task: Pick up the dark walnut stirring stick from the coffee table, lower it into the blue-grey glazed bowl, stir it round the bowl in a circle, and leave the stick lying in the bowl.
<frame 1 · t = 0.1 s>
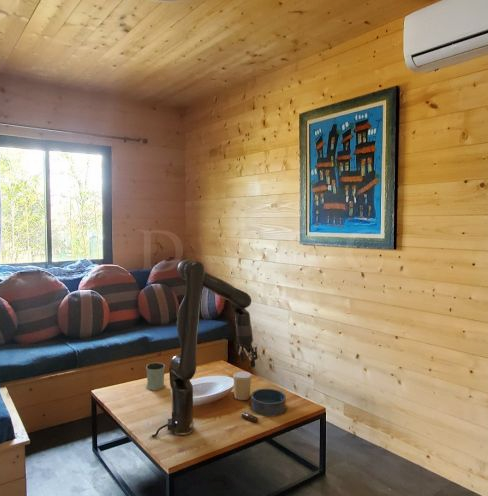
hand: (247, 364, 205), 22 cm above the table, tool pointing down, fingers open, 8 cm apart
coffee cup: (242, 397, 220), on the table
bowl: (268, 407, 208), on the table
green cylindrical pot: (155, 387, 231), on the table
stick: (249, 419, 196), on the table
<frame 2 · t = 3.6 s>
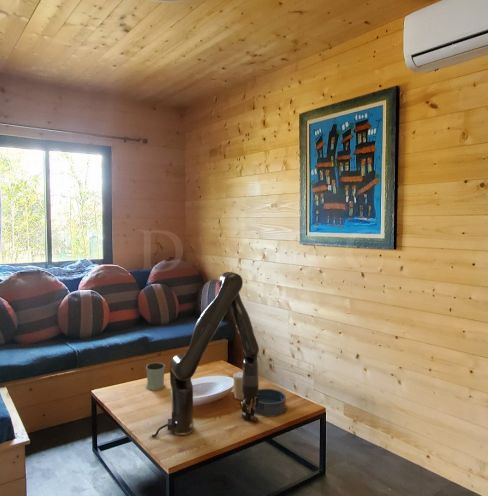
hand: (249, 418, 196), 1 cm above the table, tool pointing down, fingers closed on stick, 2 cm apart
stick: (249, 419, 196), on the table, touching gripper
everything else where it was.
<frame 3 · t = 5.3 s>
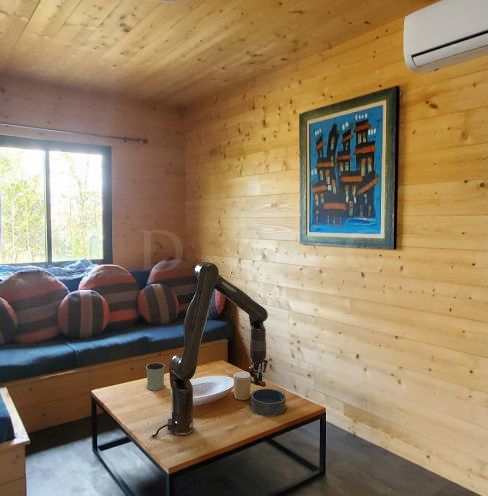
hand: (258, 383, 199), 16 cm above the table, tool pointing down, fingers closed on stick, 2 cm apart
stick: (257, 384, 199), point 15 cm above the table, touching gripper
everything else where it was.
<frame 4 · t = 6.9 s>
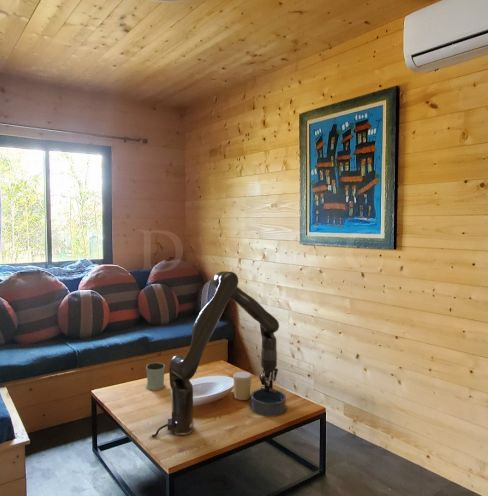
hand: (268, 391, 207), 8 cm above the table, tool pointing down, fingers closed on stick, 2 cm apart
stick: (268, 392, 207), point 8 cm above the table, touching gripper
everything else where it was.
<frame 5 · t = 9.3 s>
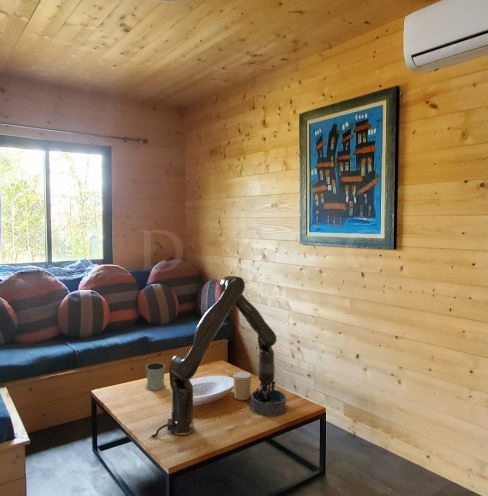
hand: (265, 404, 207), 2 cm above the table, tool pointing down, fingers closed on stick, 2 cm apart
stick: (265, 405, 207), point 1 cm above the table, touching gripper
everything else where it was.
when the fingers open (1 cm above the table, at t = 10.7 s): stick stays where it is, resting on bowl.
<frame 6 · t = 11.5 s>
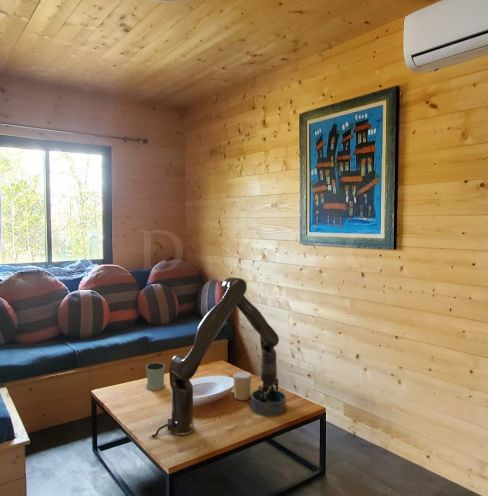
hand: (268, 402, 208), 2 cm above the table, tool pointing down, fingers open, 8 cm apart
stick: (268, 405, 208), point 1 cm above the table, tilted 24°, touching bowl
everything else where it was.
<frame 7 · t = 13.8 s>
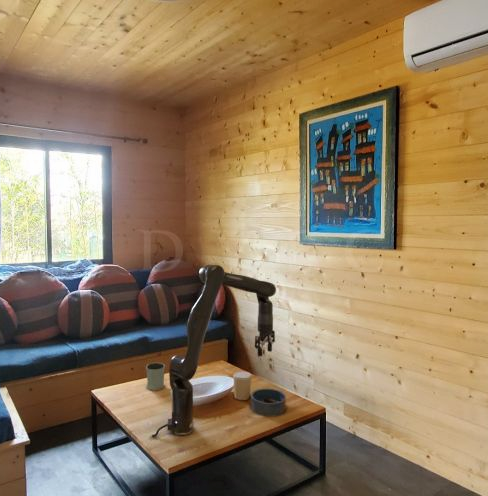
hand: (264, 353, 211), 25 cm above the table, tool pointing down, fingers open, 8 cm apart
stick: (271, 399, 210), point 3 cm above the table, tilted 153°, touching bowl
everything else where it was.
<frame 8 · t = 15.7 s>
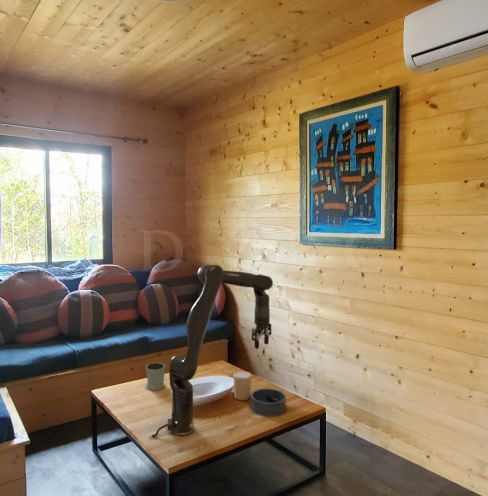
hand: (261, 346, 214), 28 cm above the table, tool pointing down, fingers open, 8 cm apart
stick: (275, 398, 213), point 2 cm above the table, tilted 102°, touching bowl
everything else where it was.
at the end: stick moved 22.3 cm from its start; stick inside the target area in the bowl (6.6 cm from its centre), point 2.3 cm above the bowl's base; the gripper is holding nothing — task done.
